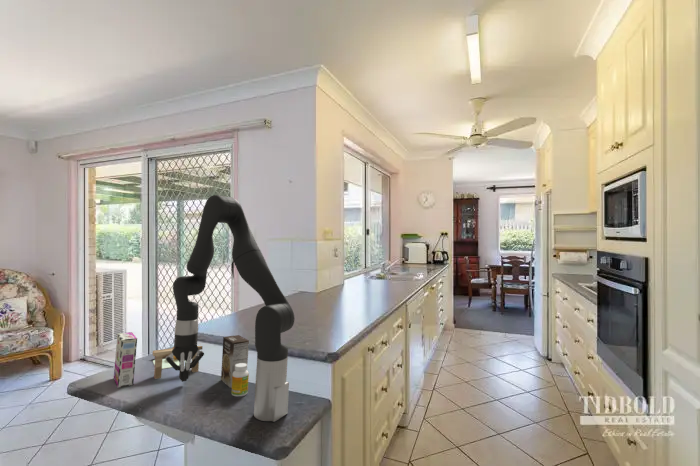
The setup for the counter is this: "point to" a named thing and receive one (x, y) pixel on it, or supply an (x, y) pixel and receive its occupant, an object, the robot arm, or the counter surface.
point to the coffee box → (233, 356)
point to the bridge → (158, 361)
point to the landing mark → (166, 364)
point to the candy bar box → (125, 359)
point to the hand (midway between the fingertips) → (183, 380)
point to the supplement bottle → (240, 380)
